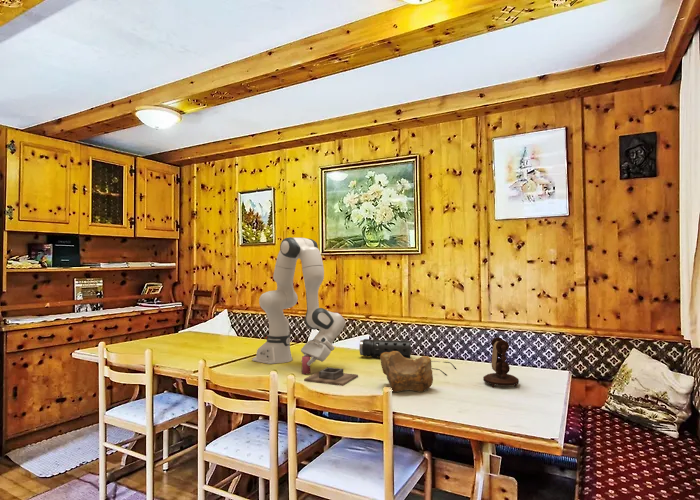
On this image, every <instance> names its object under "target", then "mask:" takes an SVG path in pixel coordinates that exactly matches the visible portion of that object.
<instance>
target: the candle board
mask: <svg viewBox="0 0 700 500" xmlns="http://www.w3.org/2000/svg"><path fill="white" fill-rule="evenodd" d="M357 378H359V375H358V374H354V373H345V372H344V368H335V367H326V368H324V369H321V370H320V371H319V370H318V371H317V372H315V373H313V374H311V375H309V376H307V377H305V378H303V380H304V382H310V383H318V384H325V385H326V384H327V385H332V386H333V385H335V386H342V387H343V386H345V385H347V384H349V383H350V382H352V381H354V380H355V379H357Z"/></svg>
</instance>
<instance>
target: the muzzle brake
mask: <svg viewBox="0 0 700 500" xmlns="http://www.w3.org/2000/svg"><path fill="white" fill-rule="evenodd" d="M411 345H412V344H411V340H398V339H397V340H395V339H393V340H389V339H387V340H386V339H385V340H384V339H374V340H373V339H371V338H364V339H362V340H360V341H359V355H361V356H363V357H371V358H372V359H378V358H380V356H381V354H382V353H384V352H389V353H390V352H391V351H398V352H400V353H401V354H402V356H403V357H405V358H409V359H411V356H412V354H411V353H412V348H411V347H412V346H411Z"/></svg>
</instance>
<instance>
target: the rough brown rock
mask: <svg viewBox="0 0 700 500" xmlns="http://www.w3.org/2000/svg"><path fill="white" fill-rule="evenodd" d="M379 358H380V365H381V370H382V373H383V374H384V375H385V376H386V379H387V381H388V383H389V384H388V385H389V388H390V387H391V388H392V390H393V392H392V393H398V392H403V391H414V392H417V393H424V392H425V391H427V390H428V389H430V388H431V387H432V385H433V382H434V377H433V369H431V368H432V362H431V361H432V359H431V357H430V356H427V355H422V356H420V357H418V358H416V359H412V358H405V357H403V356H402V354H401V353H400V352H398V351H391V352H390V353H389V352H384V353H382V354H381V356H380V357H379Z"/></svg>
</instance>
